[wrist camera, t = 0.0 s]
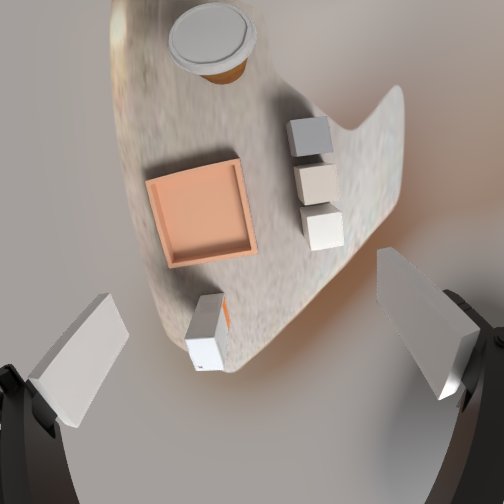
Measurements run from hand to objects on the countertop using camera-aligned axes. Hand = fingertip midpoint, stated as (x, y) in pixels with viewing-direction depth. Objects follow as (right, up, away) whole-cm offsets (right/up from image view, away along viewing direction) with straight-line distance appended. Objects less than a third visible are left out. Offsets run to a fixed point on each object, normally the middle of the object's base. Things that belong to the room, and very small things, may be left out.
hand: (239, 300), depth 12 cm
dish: (-6, +8, +27) cm, 29 cm away
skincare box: (-5, -7, +33) cm, 34 cm away
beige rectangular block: (+9, +12, +25) cm, 29 cm away
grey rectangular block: (+8, +18, +23) cm, 30 cm away
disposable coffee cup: (-3, +28, +20) cm, 35 cm away
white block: (+10, +7, +27) cm, 30 cm away
